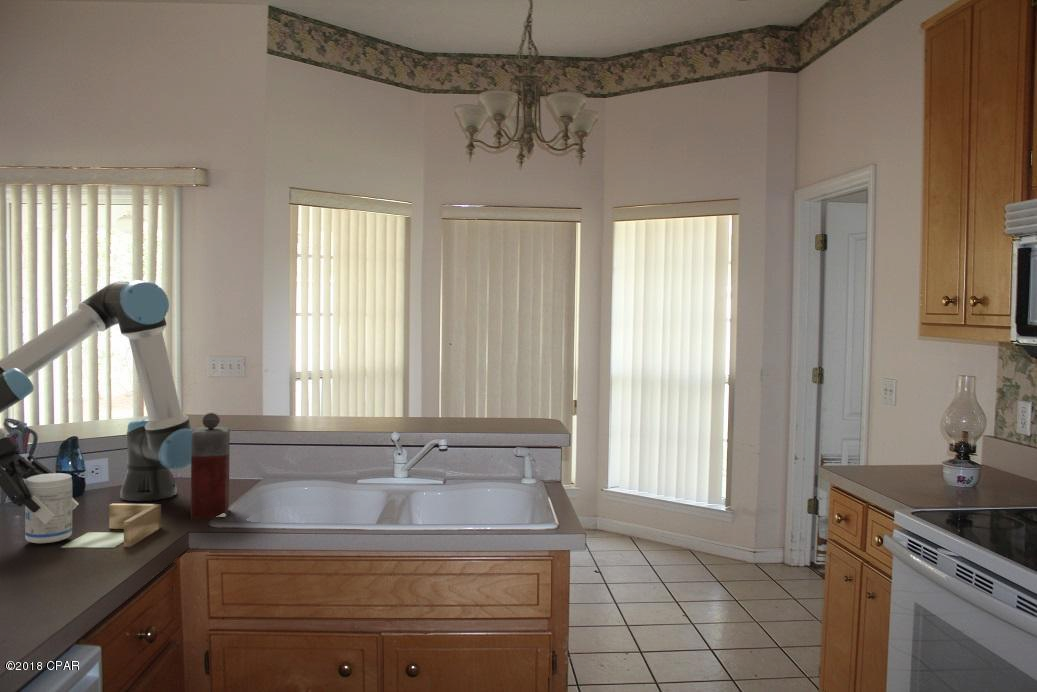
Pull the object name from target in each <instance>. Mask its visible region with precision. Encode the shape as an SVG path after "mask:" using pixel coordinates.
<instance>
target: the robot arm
mask: <svg viewBox="0 0 1037 692" xmlns="http://www.w3.org/2000/svg"><path fill="white" fill-rule="evenodd" d="M169 307H170V301H169V297H168V295H167V294H166V292H165V290H164V289H163V288H162V287H160V286H159V285H158V284H156V283H153V282H151V281H146V280H141V279H139V280H121V281H120V280H119V281H114V282H112V283H110V284H107V285H106V286H104V287H102V288H101V289H99V290H98V291H97V292H95V293H94V294H92V295H91V296H89V297H87V298H86V299H85V300H83V301H82V302H80V303H79V304H78V308H77V309H76V310H75V311H74V312H71V313H70V314H69V315H67V316H66V317H63V319H61V320H59V321H58V322H56V323H54V324H53V325H52V326H50V327H49V328H47V329H46V330H44V331H43V332H40V333H39V334H38V335H36V336H34V337H33V338H32V339H30V340H28V341H27V342H25V343H24V344H23V345H21V346H19V347H18V348H16V349H14V350H12V351H11V352H10V353H9V354H7V355H5V356H4V357H2V358H0V414H1V413H3V412H4V411H5V410H7V409H9V408H10V407H12V406H14V405H15V404H17V403H19V402H20V401H23V400H24V399H25V398H27V397H28V396H30V394H32V393H33V392H34V389H35V388H34V385H33V383H32V381H31V380H30V377H31V376H33V375H34V374H36V373H37V372H39V371H40V370H42V369H43V368H45V367H46V366H48V365H49V364H50V363H53V362H54V361H56V360H57V359H58V358H59V357H61V356H62V355H64V354H65V353H67V352H68V351H70V350H71V349H73V348H74V347H76V346H77V345H79V344H80V343H82V342H84V341H85V340H86V339H87V338H90V337H91V336H93V334H95V333H97V332H105V331H106V330H108V329H110V327H113V326H115V325H119V326H118V327H119V331H120V333H121V335H122V336H125V337H126V338H127V339H128V341H129V345H130V349H131V354H132V357H133V361H134V365H135V369H136V373H137V377H138V381H139V385H140V389H141V394H142V397H143V401H144V406H145V409H146V412H147V413H146V414H147V418H148V419H142V420H141V419H139V420H131V421H130V422H129V423H128V425H127V429H126V430H127V432H126V440H127V441H126V443H127V445H126V448H127V450H126V451H127V453H126V456H127V457H126V458H127V461H126V462H127V463H126V464H127V465H126V466H127V467H126V468H127V471H126V474H125V477H124V480H123V483H122V486H121V489H120V496H119V497H120V499H121V500H122V501H123V500H124V501H128V502H150V501H151V502H152V500H153V501H159V500H160V501H161V500H165V499H169V498H172V497H174V495H175V496H176V495H177V493H178V492H177V491H178V490H177V484H176V481H175V478H174V475H173V472H172V469H175V470H180V469H184V468H187V467H189V466H190V465H191V436H192V433H193V432H194V431H195V429H194V430H193V429H192V428H191V422H190V418H189V416H188V415H186V414H185V413H183V412H182V410H181V406H180V400H179V397H178V394H177V388H176V385H175V384H176V383H175V381H174V375H173V372H172V367H171V363H170V359H169V355H168V351H167V346H166V341H165V338H164V334H163V331H164V330H165V328H166V327H167V324H168V323H167V320H166V316H167V313H168V312H169ZM19 451H20V446H19V445H18V444H17V443H16V442H15V441H14V440H13V439H12V438H11V437H9V436H8V435H7V433H6V432H5V431H4V430H3V429H1V428H0V488H1V490H2V491H3V492H4V494H5V495H6V496H7V497H8V499H9V501H11V503H12V504H14V505H16V506H17V507H22V506H23V505H24V507H25V506H26V507H27V508H29V509H30V510H31V511H32V512H33V513H34V514H35V515H36V516H37V517H38V518H39V519H40V520H41V521H42V522H43V523H44V524H46V523H48V522H49V521H50V520H51V519H52V518H53V517H54V516H55V514H54V513H52V512H51V511H50V510H49V509H48V508H47V507H46V506H45V505H44V504H43V503H42V502H41V501H40V500H39V499H38V498H37V497H36V496H35V495H34V496H32V497H31V494H30V492H29V490H28V488H27V486H26V481H25V479H27V478H29V477H31V476H35V475H41V474H50V473H54V472H53V471H52V470H50V468H48V467H47V466H45V465H43V464H42V463H41V462H40V461H38V460H37V459H36V457H34V456H33V455H32V454H28V456H27V457H24V456H22V455H21V454H19ZM30 497H31V498H30ZM79 505H80V504H79V502H78V501H77V500H75V498H74V497H72V511H74V510H75V509H76V508H77V507H78V506H79Z"/></svg>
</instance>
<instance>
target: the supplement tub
mask: <svg viewBox="0 0 1037 692" xmlns="http://www.w3.org/2000/svg"><path fill="white" fill-rule="evenodd" d="M25 484H26V486H27V488H28V490H29V492H30V494H31V497H32V496H34V495H35V496H36V497H37V498H38V499H39V500H40V501H41V502H42V503H43V504H44V505H45V506H46V507H47V508H48V509H49V510H50V511H51V512H52V513H54V514H55V516H54V517H53V518H52V519H51V520H50V521H49V522H48V523H46V524H44V523H43V522H42V521H41V520H40V519H39V518H38V517H37V516H36V515H35V514H34V513H33V512H32V511H31V510H30V509H29V508H27V507H26V506H25V505H24V507H25V508H24V512H25V513H24V522H25V524H24V526H25V527H24V528H25V529H24V537H25V540H26V541H27V542H29V543H34V544H47V543H49V544H50V543H55V542H60V541H63V540H66V539H68V538H69V537H71V536H72V533H73V510H72V498H73V476H72V475H71V474H70V473H61V472H57V473H55V472H53V473H50V474H41V475H35V476H31V477H29V478H27V479H26V480H25ZM31 497H30V498H31Z"/></svg>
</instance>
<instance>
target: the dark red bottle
mask: <svg viewBox="0 0 1037 692" xmlns="http://www.w3.org/2000/svg"><path fill="white" fill-rule="evenodd" d="M220 421H221V419H220V416H219V414H217V413H216V412H214V411H210V412H207V413H206V414H204V416H203V417H202V424H203V426H204V427H197V428H195V429H194V432H193V433H192V436H191V464H190V465H191V466H190V520H202V519H203V518H204V519H206V518H207V519H215V518H214V517H216V516H218V515H220V514H222V513H225V514H226V515H227V516H228V514H227V511H228V508H229V509H230V452H231V451H230V443H231V441H230V440H231V436H230V435H231V433H230V432H231V431H230V430H231V429H230V428H229V427H226V426H222V427H219V426H218V425H219V424H220ZM228 512H229V511H228ZM204 519H203V520H204Z"/></svg>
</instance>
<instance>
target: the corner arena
mask: <svg viewBox="0 0 1037 692" xmlns="http://www.w3.org/2000/svg"><path fill="white" fill-rule="evenodd" d="M108 506H109V507H108V508H109V510H108V512H109V514H108V515H109V516H108V517H109V520H108V521H109V523H108V528H109V529H114V530H115V529H116V530H117V529H123V532H107V531H106V532H104V531H103V532H99V531H98V532H97V531H96V532H95V531H94V532H93V531H91V532H86V533H84V534H82V535H80V536H79V537H77V538H75V539H73V540H71V541H69V542H67V543H65V544H64V545H62V546H60V548H61V549H62V548H63V549H64V548H65V549H115V548H117V547H118V546H120V545H122V544H123V548H131V547H133V546H134V545H136V544H138V543H139V542H141V541H142V540H143V539H146V537H149V536H150V535H151V534H153V533H155V532H156V531H158V530H159V529H161V528H162V504H160V503H110V504H109V505H108Z"/></svg>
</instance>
